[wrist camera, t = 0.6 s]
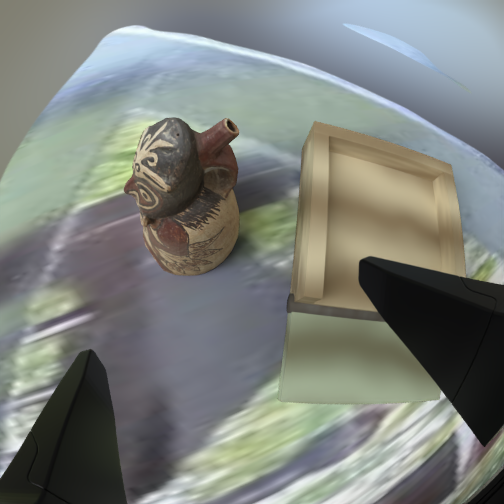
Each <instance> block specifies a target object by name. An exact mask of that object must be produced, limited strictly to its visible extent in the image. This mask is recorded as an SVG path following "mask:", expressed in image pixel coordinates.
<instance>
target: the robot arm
mask: <svg viewBox="0 0 504 504" xmlns="http://www.w3.org/2000/svg"><path fill="white" fill-rule="evenodd" d="M358 281H359V284H360V286H361V288H362V289H363V291H364V292H365V294H366V295H367V297H368V298H369V299H370V301H371V302H372V304H373V305H374V307H375V308H376V310H377V311H378V313H379V314H380V315H381V317H382V318H383V319H384V321H385V322H386V323H387V324H388V325H389V327H390V328H391V329H392V330H393V331H394V333H395V334H396V335H397V336H398V337H399V339H400V340H401V341H402V342H403V343H404V345H405V346H406V347H407V348H408V349H409V351H410V352H411V353H412V354H413V355H414V357H415V358H416V359H417V360H418V362H419V363H420V364H421V365H422V367H423V368H424V369H425V370H426V372H427V373H428V374H429V375H430V377H431V378H432V379H433V380H434V382H435V383H436V384H437V385H438V387H439V388H440V389H441V391H442V392H443V393H444V394H445V396H446V397H447V398H448V400H449V401H450V402H451V403H452V405H453V406H454V408H455V409H456V410H457V412H458V413H459V414H460V416H461V417H462V418H463V420H464V421H465V422H466V424H467V425H468V426H469V428H470V429H471V430H472V432H473V433H474V434H475V436H476V437H477V439H478V440H479V441H480V443H481V444H482V445H483V446H484V447H485V446H486V445H487V444H488V443H489V442H490V441H491V440H492V439H493V438H494V437H495V436H496V435H497V434H498V433H499V432H500V431H501V430H502V429H503V428H504V285H501V284H495V283H489V282H484V281H479V280H474V279H470V278H465V277H461V276H460V277H459V276H457V275H453V274H448V273H444V272H440V271H435V270H431V269H427V268H422V267H418V266H414V265H409V264H405V263H400V262H396V261H391V260H387V259H382V258H378V257H373V256H368V257H365V258H363V259H361V260H360V261H359V274H358ZM31 431H32V432H31ZM31 431H30V432H29V434H28V436H27V437H26V439H25V441H24V442H23V444H22V446H21V447H20V449H19V451H18V452H17V454H16V456H15V457H14V459H13V460H12V462H11V463H10V465H9V466H8V468H7V469H6V471H5V472H4V474H3V475H2V477H1V478H0V504H127V500H126V495H125V489H124V484H123V478H122V472H121V466H120V459H119V452H118V444H117V436H116V426H115V417H114V411H113V406H112V401H111V395H110V390H109V384H108V379H107V373H106V370H105V367H104V366H103V364H102V363H101V361H100V360H99V358H98V357H97V355H96V353H95V352H94V351H93V350H91V349H89V350H85V351H82V352H80V353H79V355H78V356H77V357H76V359H75V360H74V362H73V363H72V365H71V366H70V368H69V369H68V371H67V372H66V374H65V376H64V377H63V379H62V380H61V382H60V383H59V385H58V386H57V388H56V389H55V391H54V393H53V394H52V396H51V397H50V399H49V401H48V402H47V404H46V405H45V407H44V409H43V410H42V412H41V414H40V415H39V417H38V419H37V420H36V422H35V424H34V425H33V427H32V429H31ZM463 504H504V465H503V466H502V467H501V468H500V469H499V470H498V471H497V472H496V473H495V474H494V475H493V476H492V477H491V478H490V479H489V480H488V481H487V482H486V483H485V484H484V485H483V486H482V487H481V488H480V489H479V490H478V491H477V492H475V493H474V494H473V495H472V496H471V497H470V498H469V499H468V500H466V501H465V502H464V503H463Z"/></svg>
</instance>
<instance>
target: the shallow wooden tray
mask: <svg viewBox="0 0 504 504" xmlns="http://www.w3.org/2000/svg"><path fill="white" fill-rule="evenodd" d="M368 256H373V257H378V258H382V259H387V260H391V261H396V262H400V263H405V264H409V265H414V266H418V267H422V268H427V269H431V270H435V271H440V272H444V273H448V274H453V275H457V276H459V277H460V276H461V277H465V278H466V270H465V256H464V245H463V235H462V226H461V219H460V212H459V205H458V199H457V193H456V187H455V182H454V177H453V172H452V167H451V165H450V164H448V163H445V162H443V161H440V160H438V159H435V158H432V157H430V156H427V155H425V154H422V153H419V152H416V151H414V150H411V149H408V148H405V147H402V146H399V145H396V144H393V143H390V142H387V141H384V140H381V139H378V138H374V137H371V136H368V135H365V134H361V133H358V132H354V131H351V130H347V129H343V128H340V127H336V126H332V125H328V124H324V123H320V122H316V121H314V124H313V126H312V128H311V130H310V132H309V135H308V137H307V139H306V141H305V143H304V146H303V148H302V159H301V174H300V188H299V202H298V214H297V226H296V238H295V249H294V260H293V270H292V280H291V290H290V294H289V297H288V300H287V313H288V318H287V326H286V335H285V343H284V351H283V359H282V367H281V375H280V382H279V390H278V397H277V399H278V400H279V401H280V402H293V403H312V404H387V403H406V402H420V401H431V400H439V399H440V391H441V389H440V388H439V387H438V385H437V384H436V383H435V382H434V380H433V379H432V378H431V377H430V375H429V374H428V373H427V372H426V370H425V369H424V368H423V367H422V365H421V364H420V363H419V362H418V360H417V359H416V358H415V357H414V355H413V354H412V353H411V352H410V351H409V349H408V348H407V347H406V346H405V345H404V343H403V342H402V341H401V340H400V339H399V337H398V336H397V335H396V334H395V333H394V331H393V330H392V329H391V328H390V327H389V325H388V324H387V323H386V322H385V321H384V319H383V318H382V317H381V315H380V314H379V313H378V311H377V310H376V308H375V307H374V305H373V304H372V302H371V301H370V299H369V298H368V297H367V295H366V294H365V292H364V291H363V289H362V288H361V286H360V284H359V281H358V274H359V261H360V260H361V259H363V258H365V257H368Z"/></svg>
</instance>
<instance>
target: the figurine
mask: <svg viewBox="0 0 504 504" xmlns="http://www.w3.org/2000/svg"><path fill="white" fill-rule="evenodd" d="M238 135H239V130H238V128H237V126H236V125H235V124H234V123H233V122H232V121H231V120H230V119H228V118H225V119H223V120H222V121H220V122H219V123H217V124H216V125H215V126H213V127H212V128H210V129H209V130H207V131H204V132H202V133H198V132H196V131H194V130H192V129H191V128H190V127H189V125H188V124H187V123H185V122H184V121H182V120H181V119H179V118H165V119H164V120H162V121H160V122H158V123H156V124H154V125H153V126H149V127H147V128H146V129H145V130H144V131H143V133H142V135H141V138H140V141H139V144H138V147H137V150H136V153H135V156H134V161H133V166H132V168H133V175H132V177H131V178H130V179H129V180H128V181H127V183H126V185H125V187H124V192H125V193H126V194H129V195H131V196H133V197H134V198H135V200H136V202H137V205H138V207H139V209H140V218H141V224H142V225H143V238H144V241H145V246H146V247H147V248H148V250H149V251H150V253H151V254H152V255H153V257H154V259H155V260H156V261H157V263H158V264H159V265H160V266H161V268H162V269H163V270H164V271H166V272H169V273H172V274H175V275H185V276H190V275H199V274H203V273H206V272H208V271H210V270H212V269H214V268H216V267H217V266H218V265H219V264H221V263H222V262H223V261H224V260H225V259H226V257H227V256H228V255H229V254H230V252H231V251H232V249H233V247H234V245H235V242H236V240H237V238H238V232H239V220H240V219H239V209H238V205H237V201H236V198H235V194H234V191H233V189H232V188H233V187H234V186H235V185H236V182H237V175H238V166H237V162H236V158H235V155H234V153H233V150H232V148H231V146H230V145H229V143H230V142H231V141H232V140H234V139H235V138H236V137H237V136H238Z"/></svg>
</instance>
